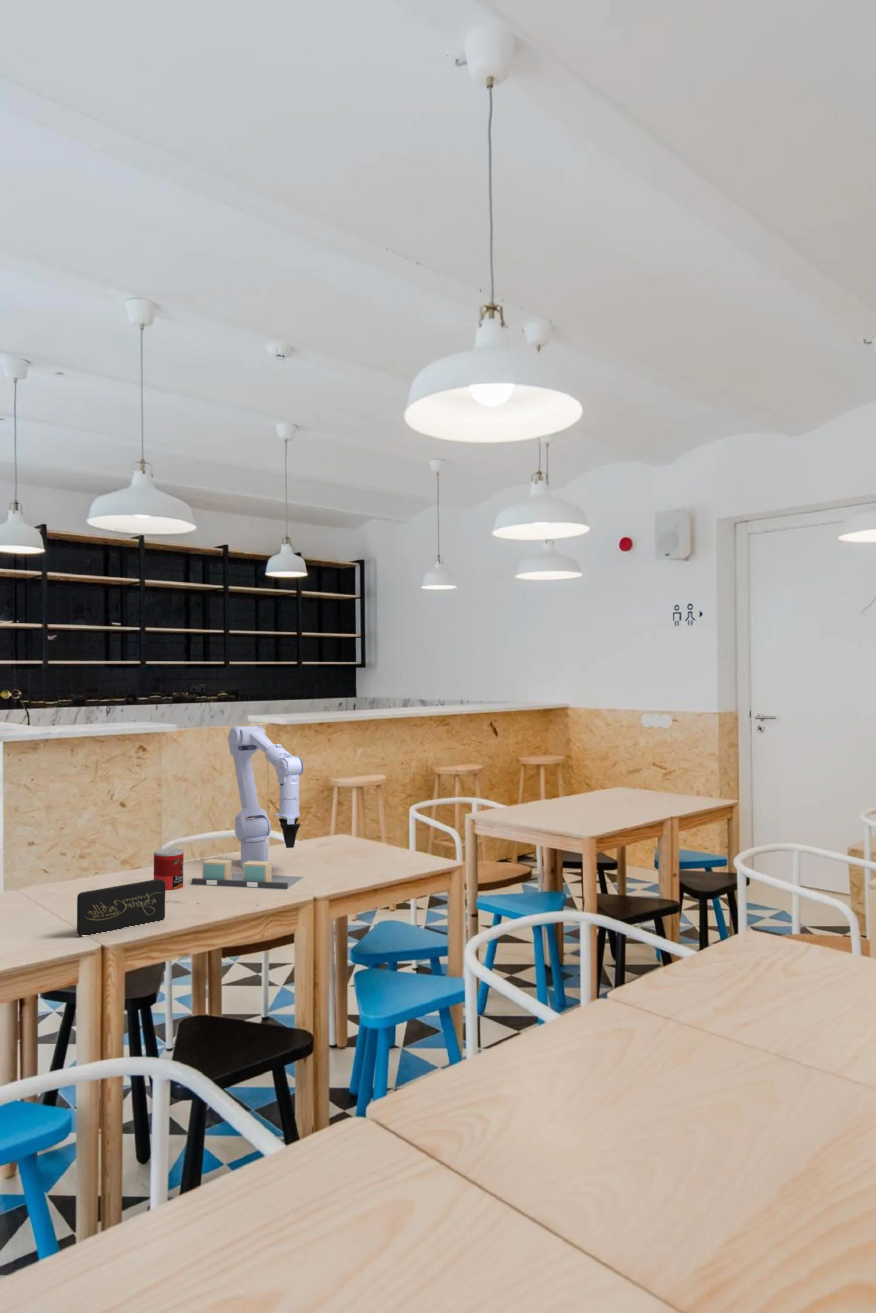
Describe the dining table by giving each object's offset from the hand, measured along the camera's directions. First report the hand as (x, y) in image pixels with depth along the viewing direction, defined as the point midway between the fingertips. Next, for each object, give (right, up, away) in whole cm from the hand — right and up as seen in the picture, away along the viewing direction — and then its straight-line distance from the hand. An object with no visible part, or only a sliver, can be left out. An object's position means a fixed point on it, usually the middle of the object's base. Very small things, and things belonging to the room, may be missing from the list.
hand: (289, 845), depth 259 cm
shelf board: (-11, -10, -4) cm, 16 cm away
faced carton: (-19, -9, -6) cm, 22 cm away
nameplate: (-32, -10, -47) cm, 57 cm away
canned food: (-32, -10, -12) cm, 35 cm away
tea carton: (-8, -9, -8) cm, 15 cm away
